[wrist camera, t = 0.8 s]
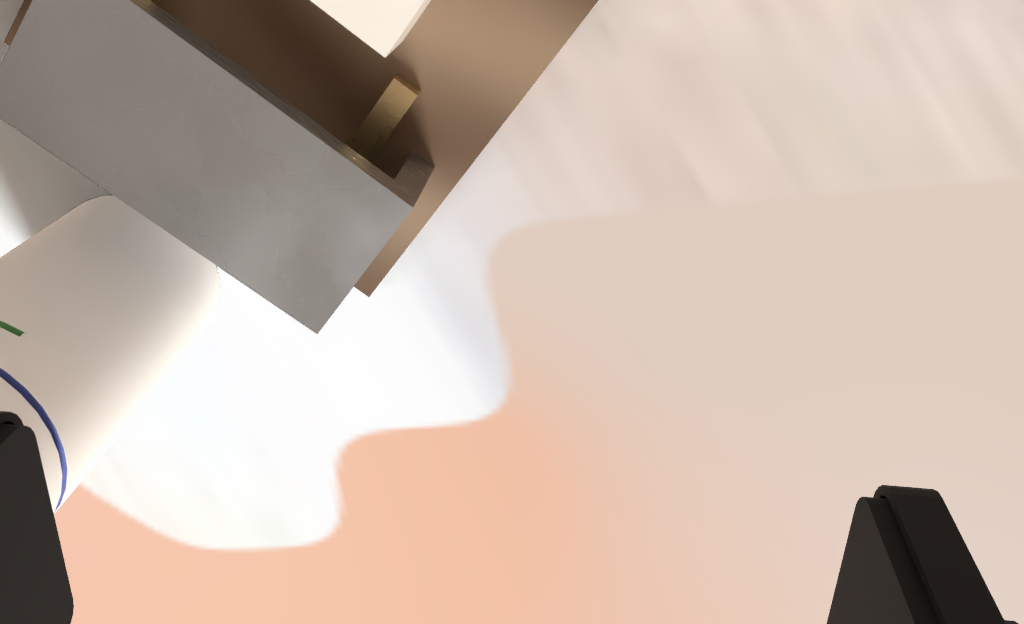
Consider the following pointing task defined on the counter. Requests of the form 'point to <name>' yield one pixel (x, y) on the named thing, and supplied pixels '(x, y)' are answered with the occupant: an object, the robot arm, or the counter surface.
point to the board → (366, 75)
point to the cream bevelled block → (376, 19)
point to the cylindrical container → (95, 329)
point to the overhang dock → (209, 148)
